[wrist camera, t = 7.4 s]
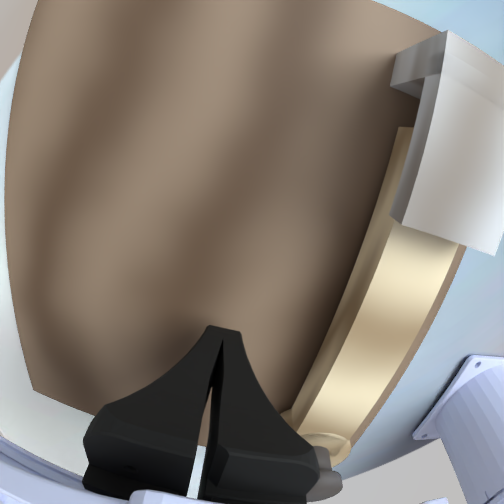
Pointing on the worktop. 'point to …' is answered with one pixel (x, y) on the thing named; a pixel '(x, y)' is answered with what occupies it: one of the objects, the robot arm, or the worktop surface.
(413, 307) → the link
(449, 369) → the worktop surface
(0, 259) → the worktop surface
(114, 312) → the base board
